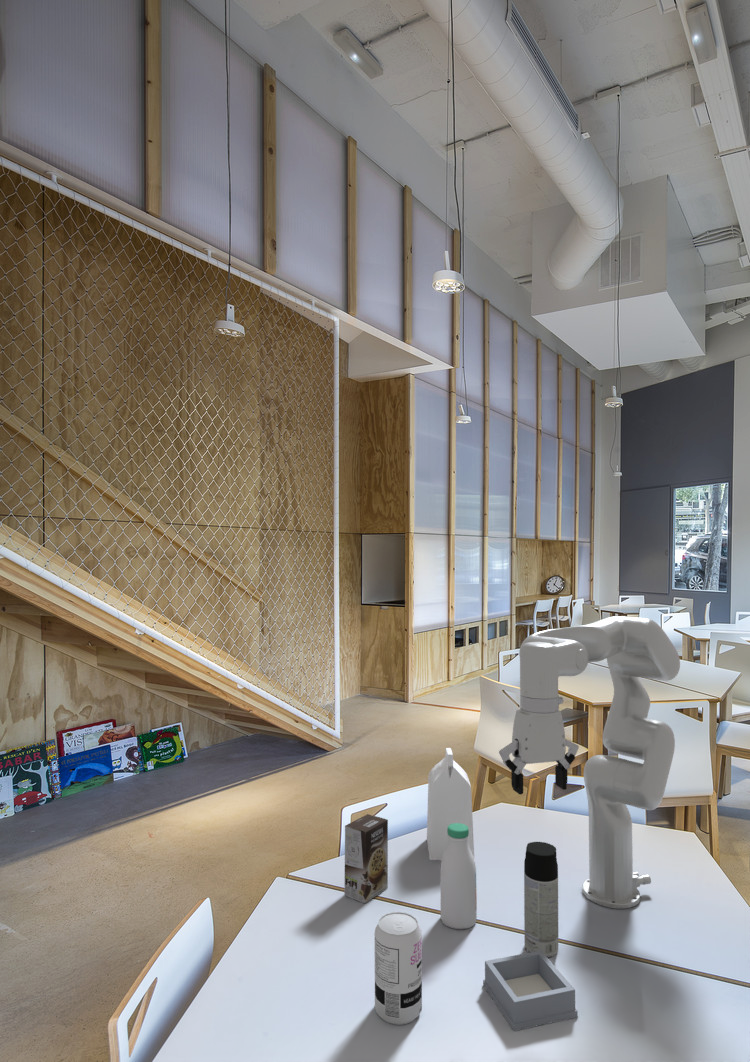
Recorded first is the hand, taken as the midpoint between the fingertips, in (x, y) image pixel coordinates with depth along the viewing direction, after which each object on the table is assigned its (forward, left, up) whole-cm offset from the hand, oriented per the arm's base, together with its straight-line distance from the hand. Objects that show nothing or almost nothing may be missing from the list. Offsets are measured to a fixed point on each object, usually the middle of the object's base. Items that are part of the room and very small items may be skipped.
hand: (539, 789), depth 134 cm
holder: (+10, +13, -32) cm, 36 cm away
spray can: (0, 0, -32) cm, 32 cm away
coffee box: (+28, -31, -32) cm, 53 cm away
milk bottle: (+12, -14, -32) cm, 37 cm away
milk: (+1, -46, -32) cm, 56 cm away
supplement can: (+33, +9, -32) cm, 47 cm away
